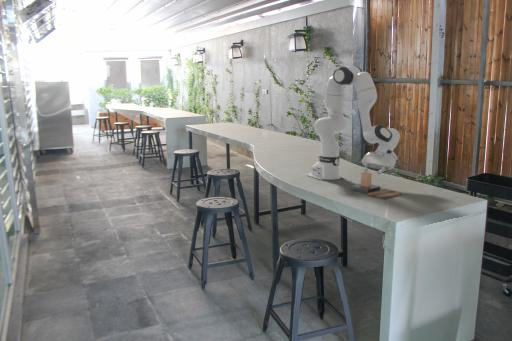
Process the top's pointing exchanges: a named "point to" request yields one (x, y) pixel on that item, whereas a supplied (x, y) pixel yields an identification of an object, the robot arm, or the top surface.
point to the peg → (366, 179)
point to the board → (385, 193)
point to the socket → (364, 189)
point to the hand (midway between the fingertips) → (372, 172)
